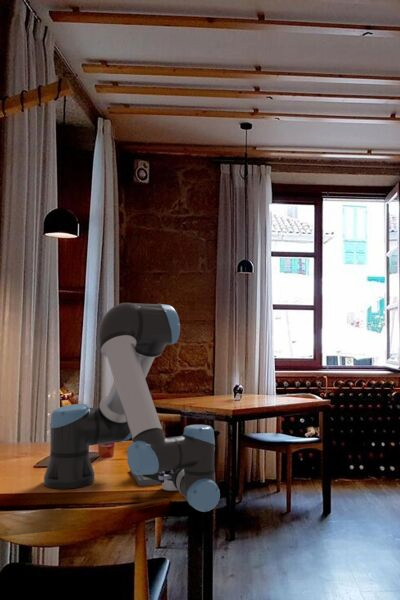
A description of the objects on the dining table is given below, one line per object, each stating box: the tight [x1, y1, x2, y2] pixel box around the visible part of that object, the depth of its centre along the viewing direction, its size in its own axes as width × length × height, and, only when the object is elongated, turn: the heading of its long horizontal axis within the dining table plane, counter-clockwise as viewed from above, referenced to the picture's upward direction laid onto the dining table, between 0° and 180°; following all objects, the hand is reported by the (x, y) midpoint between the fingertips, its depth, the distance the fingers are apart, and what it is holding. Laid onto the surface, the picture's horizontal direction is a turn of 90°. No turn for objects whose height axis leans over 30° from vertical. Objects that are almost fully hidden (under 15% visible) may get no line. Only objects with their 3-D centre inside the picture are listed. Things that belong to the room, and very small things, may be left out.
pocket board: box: [129, 469, 162, 487], centre depth 170 cm, size 12×18×3 cm, turn 16°
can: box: [161, 470, 179, 492], centre depth 157 cm, size 6×6×12 cm
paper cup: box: [97, 442, 116, 459], centre depth 201 cm, size 8×8×14 cm
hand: (171, 462), depth 159 cm, fingers open, 13 cm apart
